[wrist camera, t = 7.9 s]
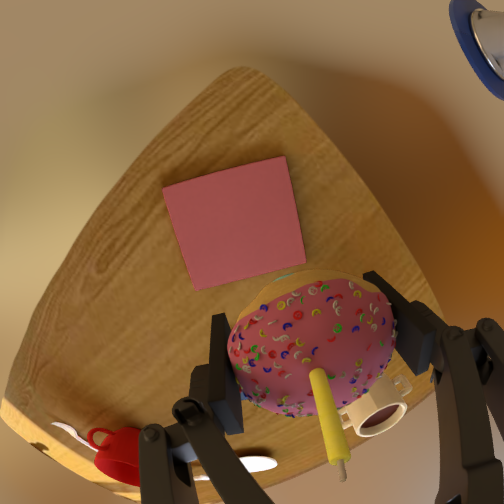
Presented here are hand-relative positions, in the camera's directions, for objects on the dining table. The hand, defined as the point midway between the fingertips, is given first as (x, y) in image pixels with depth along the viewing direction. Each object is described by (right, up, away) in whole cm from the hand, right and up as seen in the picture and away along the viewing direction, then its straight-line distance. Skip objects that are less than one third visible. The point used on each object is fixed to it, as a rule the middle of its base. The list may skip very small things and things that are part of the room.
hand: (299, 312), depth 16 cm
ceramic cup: (-27, -31, +25) cm, 48 cm away
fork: (-41, -41, +27) cm, 64 cm away
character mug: (+12, -12, +22) cm, 28 cm away
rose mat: (-5, +7, +14) cm, 16 cm away
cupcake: (0, 0, +1) cm, 1 cm away
